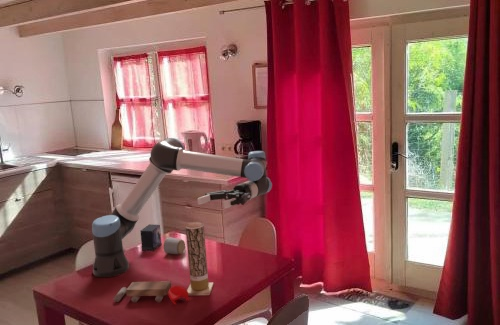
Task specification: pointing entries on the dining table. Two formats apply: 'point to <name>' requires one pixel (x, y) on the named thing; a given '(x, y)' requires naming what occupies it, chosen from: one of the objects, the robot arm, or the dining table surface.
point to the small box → (150, 237)
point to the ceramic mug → (174, 246)
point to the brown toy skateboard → (144, 290)
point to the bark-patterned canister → (197, 256)
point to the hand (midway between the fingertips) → (210, 203)
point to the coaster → (201, 292)
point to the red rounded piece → (177, 293)
